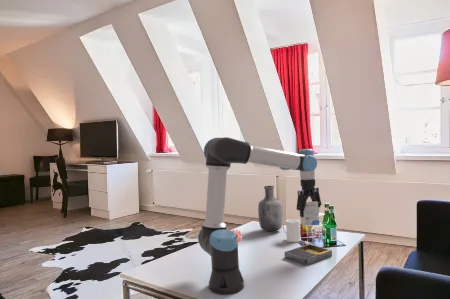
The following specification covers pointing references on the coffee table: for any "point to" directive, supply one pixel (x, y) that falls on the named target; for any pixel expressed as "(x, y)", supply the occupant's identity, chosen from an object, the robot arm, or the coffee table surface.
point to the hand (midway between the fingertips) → (310, 221)
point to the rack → (308, 254)
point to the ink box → (311, 213)
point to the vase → (270, 211)
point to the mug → (292, 230)
